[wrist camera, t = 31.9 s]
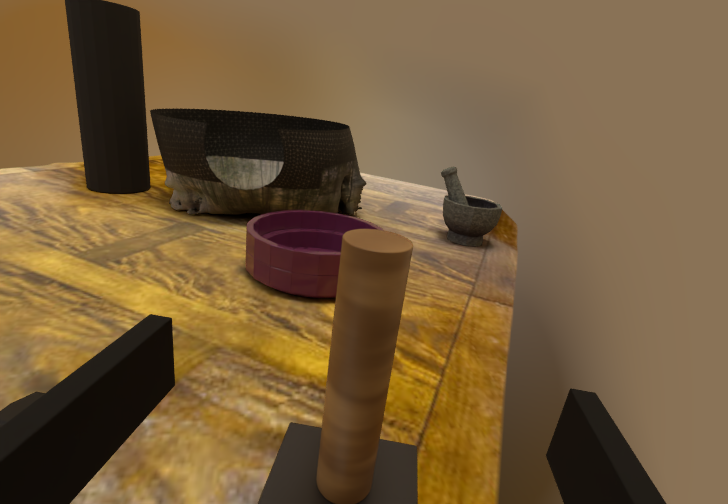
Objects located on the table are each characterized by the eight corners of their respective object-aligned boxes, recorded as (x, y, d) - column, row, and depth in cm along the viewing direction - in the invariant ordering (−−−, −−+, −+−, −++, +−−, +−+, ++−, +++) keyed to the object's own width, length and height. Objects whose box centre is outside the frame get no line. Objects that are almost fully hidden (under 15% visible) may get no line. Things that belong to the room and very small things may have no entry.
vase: (126, 196, 70) (109, -1, 60) (72, 188, 71) (47, -8, 61) (161, 186, 80) (152, 15, 70) (114, 179, 81) (98, 9, 70)
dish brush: (403, 511, 21) (463, 231, 16) (399, 637, 16) (486, 286, 11) (285, 488, 22) (306, 207, 16) (245, 603, 17) (257, 250, 11)
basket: (337, 248, 58) (349, 133, 53) (120, 210, 63) (110, 99, 57) (370, 207, 84) (380, 127, 79) (215, 182, 89) (215, 104, 84)
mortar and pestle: (497, 241, 72) (514, 174, 68) (486, 254, 64) (504, 179, 60) (438, 226, 77) (450, 163, 73) (421, 236, 69) (433, 166, 65)
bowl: (398, 266, 54) (404, 227, 53) (352, 318, 40) (358, 267, 38) (291, 239, 59) (293, 203, 58) (214, 277, 45) (214, 230, 43)
